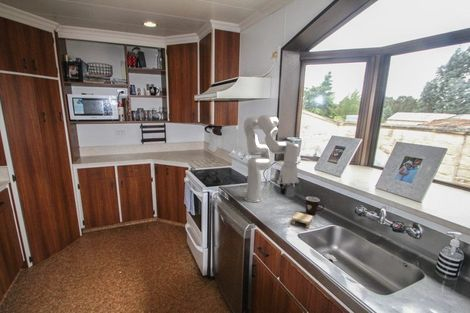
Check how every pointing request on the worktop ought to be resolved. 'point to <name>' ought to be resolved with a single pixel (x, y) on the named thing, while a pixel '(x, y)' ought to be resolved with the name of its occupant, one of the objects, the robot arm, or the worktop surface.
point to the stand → (302, 219)
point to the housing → (289, 190)
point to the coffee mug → (312, 205)
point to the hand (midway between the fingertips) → (286, 193)
